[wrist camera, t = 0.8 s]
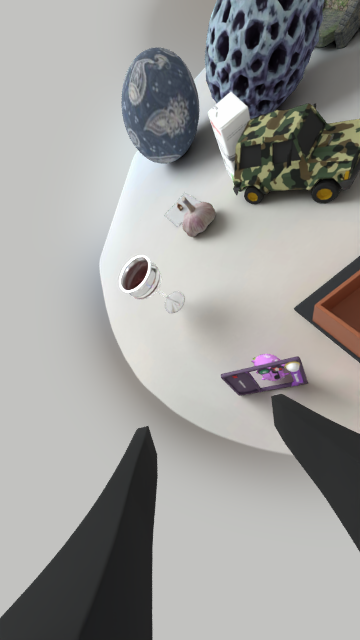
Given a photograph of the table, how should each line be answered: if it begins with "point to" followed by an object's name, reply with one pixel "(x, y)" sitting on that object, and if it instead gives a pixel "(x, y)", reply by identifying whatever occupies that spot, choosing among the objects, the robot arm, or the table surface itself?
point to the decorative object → (260, 49)
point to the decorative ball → (160, 105)
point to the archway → (339, 22)
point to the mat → (309, 303)
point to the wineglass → (147, 283)
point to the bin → (342, 313)
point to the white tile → (180, 209)
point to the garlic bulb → (197, 217)
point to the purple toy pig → (265, 374)
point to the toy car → (296, 154)
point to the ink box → (229, 127)
